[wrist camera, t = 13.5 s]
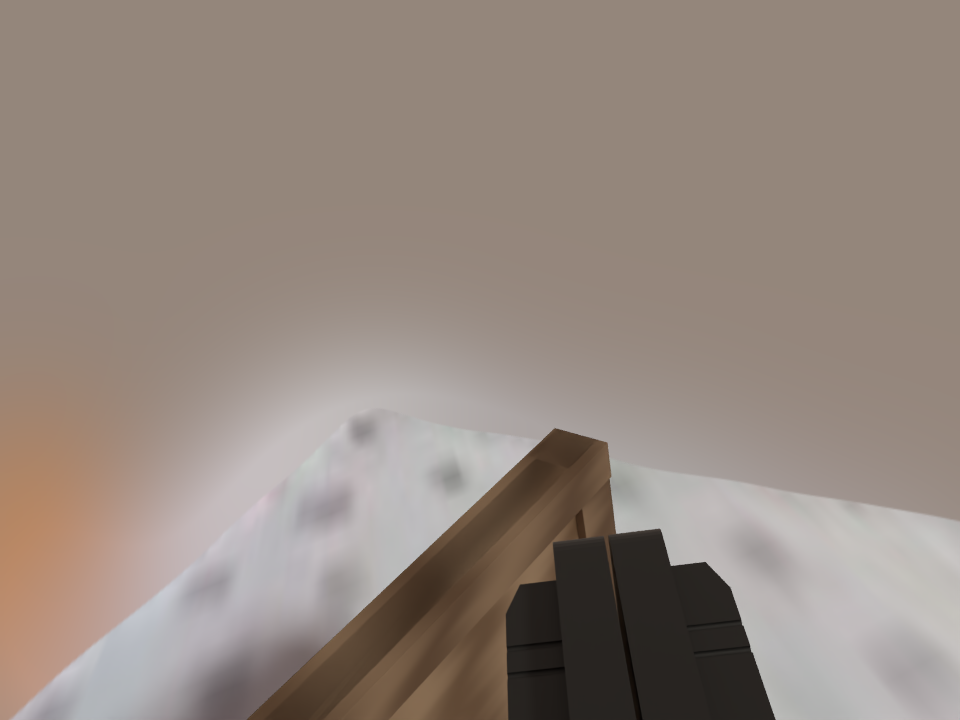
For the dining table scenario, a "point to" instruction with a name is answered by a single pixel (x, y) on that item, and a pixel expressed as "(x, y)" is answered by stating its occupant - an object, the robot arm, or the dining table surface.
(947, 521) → the dining table surface
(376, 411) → the dining table surface
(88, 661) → the dining table surface
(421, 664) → the gate
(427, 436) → the dining table surface
